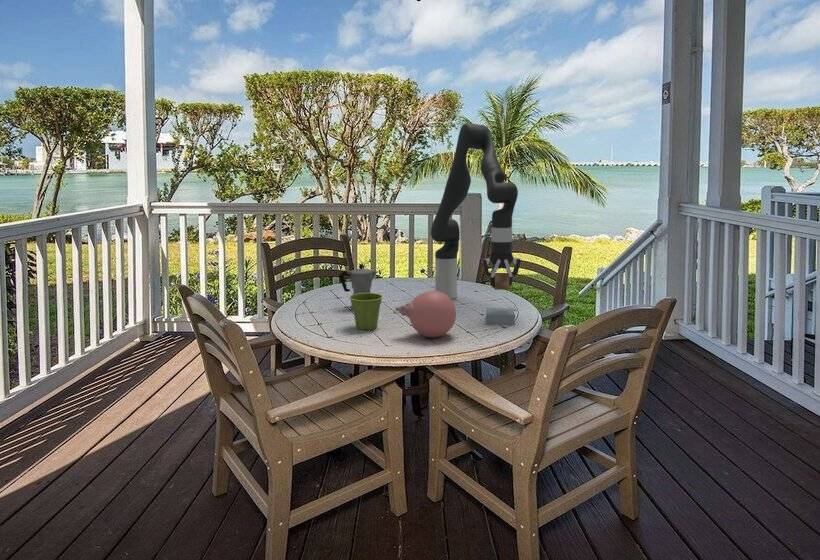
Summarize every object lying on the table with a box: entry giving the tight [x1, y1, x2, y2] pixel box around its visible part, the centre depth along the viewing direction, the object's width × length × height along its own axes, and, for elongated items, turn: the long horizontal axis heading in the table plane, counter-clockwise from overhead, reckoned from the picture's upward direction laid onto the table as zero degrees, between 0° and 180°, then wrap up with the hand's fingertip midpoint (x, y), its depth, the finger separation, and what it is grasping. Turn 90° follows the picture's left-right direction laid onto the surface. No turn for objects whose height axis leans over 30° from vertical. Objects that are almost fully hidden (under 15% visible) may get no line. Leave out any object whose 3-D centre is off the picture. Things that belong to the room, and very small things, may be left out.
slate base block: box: [485, 307, 516, 326], centre depth 214 cm, size 10×10×4 cm
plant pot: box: [348, 292, 384, 331], centre depth 206 cm, size 12×12×11 cm
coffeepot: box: [338, 263, 379, 311], centre depth 232 cm, size 15×9×18 cm, turn 107°
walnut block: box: [493, 272, 510, 291], centre depth 211 cm, size 5×5×5 cm
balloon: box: [394, 290, 457, 338], centre depth 194 cm, size 15×20×15 cm
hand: (500, 286), depth 212 cm, fingers closed on walnut block, 5 cm apart
